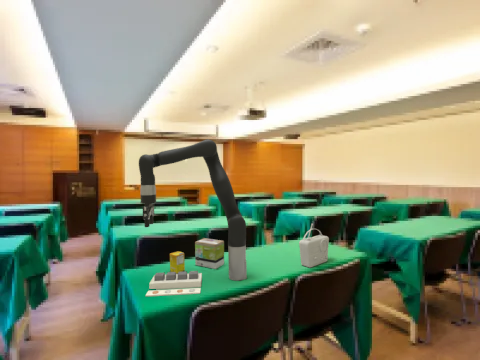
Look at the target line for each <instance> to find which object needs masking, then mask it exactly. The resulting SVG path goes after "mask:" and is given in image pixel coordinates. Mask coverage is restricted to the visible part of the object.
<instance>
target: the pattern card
mask: <svg viewBox="0 0 480 360" xmlns="http://www.w3.org/2000/svg"><path fill="white" fill-rule="evenodd" d="M201 290H202V288H201V287H194V288H175V289H156V290H148V291H147V292H146V294H145V297H160V296H162V297H164V296H178V295H179V296H181V295H183V296H184V295H193V294H194V295H195V294H196V295H197V294H201Z"/></svg>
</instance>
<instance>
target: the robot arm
mask: <svg viewBox="0 0 480 360" xmlns="http://www.w3.org/2000/svg"><path fill="white" fill-rule="evenodd" d="M194 158H203V160H204V162H205V164H206V166H207V169H208V173H209V177H210V181H211V185H212V188H213V189H214V190H213V191H214V193H215V195H216V197H217V199H218V201H219V203H220V204H221V206H222V209H223V211H224V214H225V217H226V221H227V230H228V231H227V234H228V238H227V240H228V241H227V246H228V256H227V257H228V278H229V280H232V281H238V282H239V281H243V280H247V279H248V277H247V276H248V275H247V272H248V270H247V265H248V264H247V255H246V254H247V252H246V251H247V249H246V243H247V242H246V241H247V224H246V223H247V222H246V220H245V219H244V217H243V215H242V213H241V212H240V209H239V207H238V205H237V202H236V197H235V193H234V189H233V187H232V183H231V181H230V178H229V176H228V174H227V172H226V171H225V169H224V166H223V165H222V163H221V160H220V156H219V152H218V145H217V144H216V142H215V141H214V140H212V139H208V138H207V139H204V140H201V141H199V142H197V143H196V142H195V143H194V144H191V145H188V146H183V147H179V148H178V147H177V148H173V149H167V150H162V151H160V152H158V153H153V154H142V155H140V157H139V158H138V168H139V169H138V170H139V174H140V204H142V205H143V204H144V206H142V219H143V221H144V223H143V224H144V228H149V227H150V225H153V224H154V215H156V214H155V204H156V203H157V187H156V177H155V176H156V175H155V174H154V169H155V168H158V167H160V166H161V167H162V166H166V165H171V164H176V163H179V162H182V161H185V160H186V161H187V160H188V159H194Z"/></svg>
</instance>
